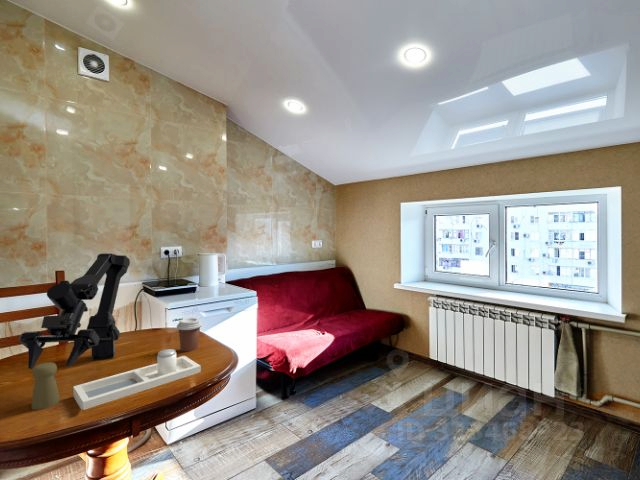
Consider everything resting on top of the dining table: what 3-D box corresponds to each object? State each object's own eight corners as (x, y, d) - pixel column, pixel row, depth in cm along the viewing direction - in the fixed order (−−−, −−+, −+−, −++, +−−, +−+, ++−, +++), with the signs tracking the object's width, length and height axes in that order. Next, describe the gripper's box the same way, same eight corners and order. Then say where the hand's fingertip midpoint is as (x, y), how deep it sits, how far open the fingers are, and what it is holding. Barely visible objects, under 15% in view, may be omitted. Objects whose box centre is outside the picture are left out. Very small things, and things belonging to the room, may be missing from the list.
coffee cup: (171, 353, 129) (171, 321, 128) (189, 345, 137) (188, 316, 137) (190, 356, 125) (189, 324, 125) (207, 348, 134) (206, 318, 133)
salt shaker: (176, 369, 112) (176, 347, 112) (176, 376, 107) (176, 353, 107) (157, 372, 110) (157, 350, 110) (157, 379, 105) (156, 356, 104)
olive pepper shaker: (28, 412, 88) (26, 370, 87) (34, 401, 93) (33, 361, 93) (57, 406, 91) (56, 366, 90) (61, 396, 96) (60, 358, 96)
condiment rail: (184, 364, 119) (184, 355, 119) (200, 374, 110) (200, 365, 110) (73, 396, 96) (73, 386, 96) (83, 413, 87) (83, 402, 87)
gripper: (22, 304, 96) (-7, 357, 86) (94, 302, 100) (75, 352, 89) (40, 323, 104) (15, 374, 94) (106, 321, 108) (90, 369, 97)
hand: (48, 367), depth 93 cm, fingers open, 9 cm apart
